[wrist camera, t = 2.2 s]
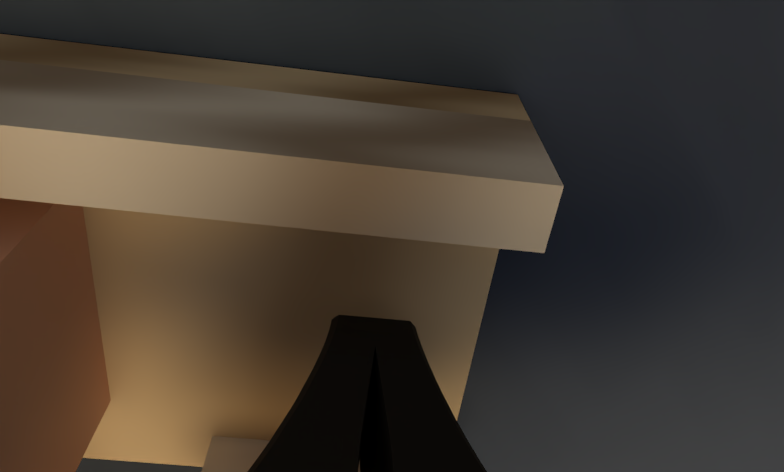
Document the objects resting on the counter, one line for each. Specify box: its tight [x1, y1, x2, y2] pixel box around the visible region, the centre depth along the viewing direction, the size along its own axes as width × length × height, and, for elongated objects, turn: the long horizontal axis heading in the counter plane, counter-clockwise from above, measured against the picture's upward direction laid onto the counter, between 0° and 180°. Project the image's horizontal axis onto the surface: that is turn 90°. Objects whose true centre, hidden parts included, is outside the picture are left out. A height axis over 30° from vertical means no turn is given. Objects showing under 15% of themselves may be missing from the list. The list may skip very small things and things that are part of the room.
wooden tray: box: [0, 34, 564, 472], centre depth 13 cm, size 18×16×4 cm
